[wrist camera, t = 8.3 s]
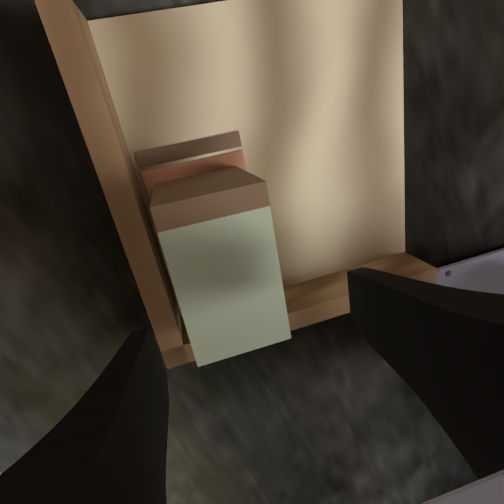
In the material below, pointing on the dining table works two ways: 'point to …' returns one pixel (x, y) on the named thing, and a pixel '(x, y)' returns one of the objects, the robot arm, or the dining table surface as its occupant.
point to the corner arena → (249, 133)
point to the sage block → (222, 261)
